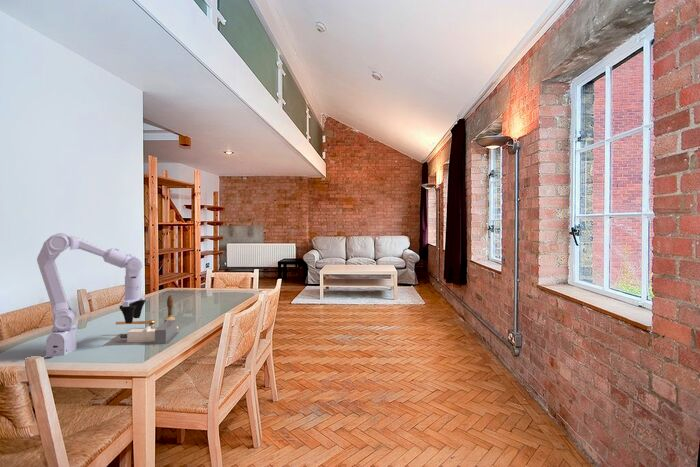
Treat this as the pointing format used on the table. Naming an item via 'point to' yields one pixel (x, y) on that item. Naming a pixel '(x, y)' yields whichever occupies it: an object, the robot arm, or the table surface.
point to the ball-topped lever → (138, 322)
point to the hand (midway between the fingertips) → (132, 320)
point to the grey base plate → (162, 335)
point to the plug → (140, 335)
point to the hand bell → (170, 309)
